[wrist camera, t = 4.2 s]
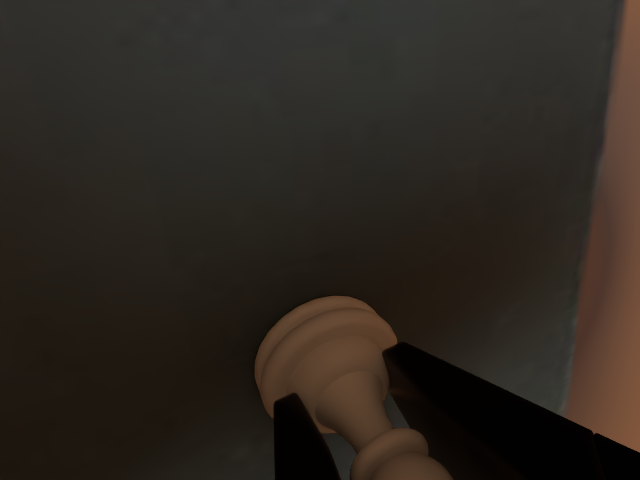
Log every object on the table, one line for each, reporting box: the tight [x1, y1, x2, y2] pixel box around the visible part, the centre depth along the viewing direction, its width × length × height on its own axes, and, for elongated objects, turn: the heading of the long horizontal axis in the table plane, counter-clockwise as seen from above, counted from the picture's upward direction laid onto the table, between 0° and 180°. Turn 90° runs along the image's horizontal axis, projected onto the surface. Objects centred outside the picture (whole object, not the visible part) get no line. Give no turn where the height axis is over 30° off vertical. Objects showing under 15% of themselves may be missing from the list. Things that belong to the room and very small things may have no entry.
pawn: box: [255, 296, 453, 480], centre depth 9 cm, size 3×3×4 cm
